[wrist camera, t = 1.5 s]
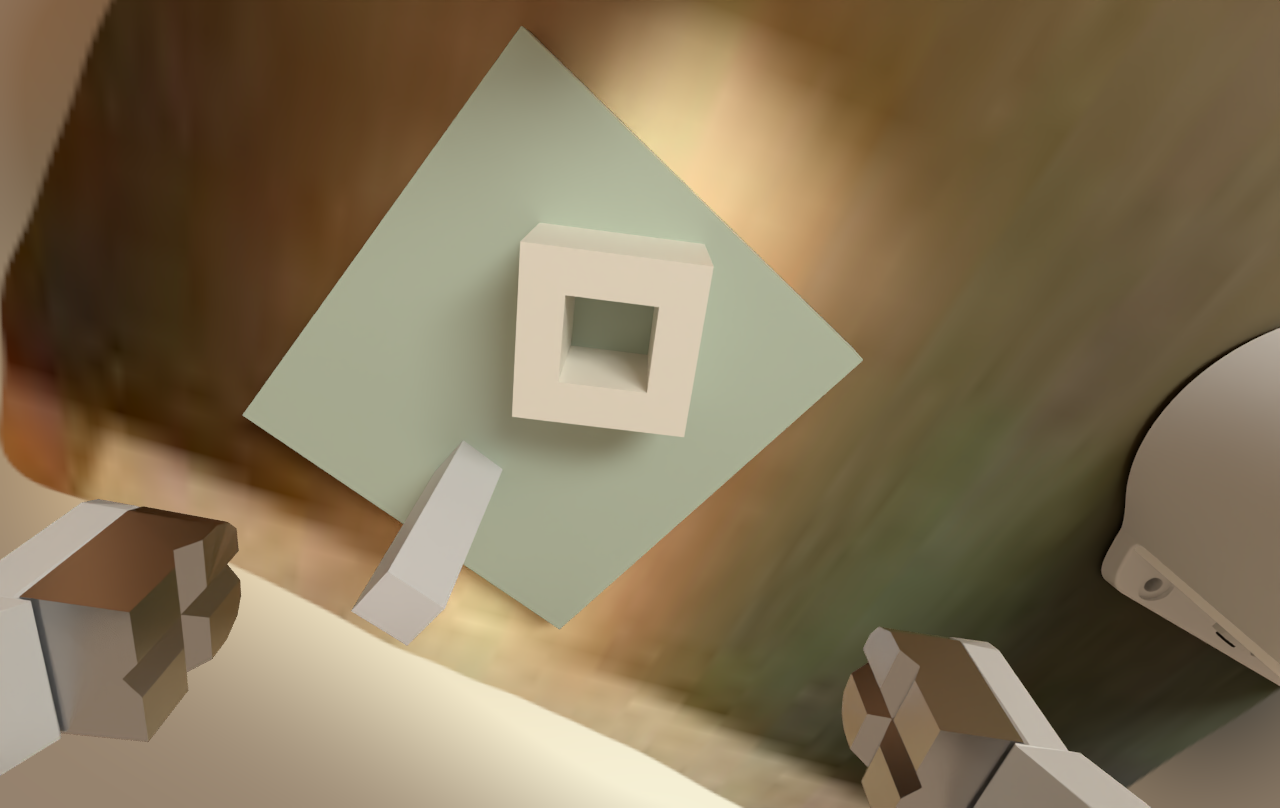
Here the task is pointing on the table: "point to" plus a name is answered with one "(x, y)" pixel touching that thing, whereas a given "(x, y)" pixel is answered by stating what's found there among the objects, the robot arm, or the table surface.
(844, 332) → the table surface
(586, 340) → the post board
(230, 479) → the table surface
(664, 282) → the square collar
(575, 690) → the table surface
